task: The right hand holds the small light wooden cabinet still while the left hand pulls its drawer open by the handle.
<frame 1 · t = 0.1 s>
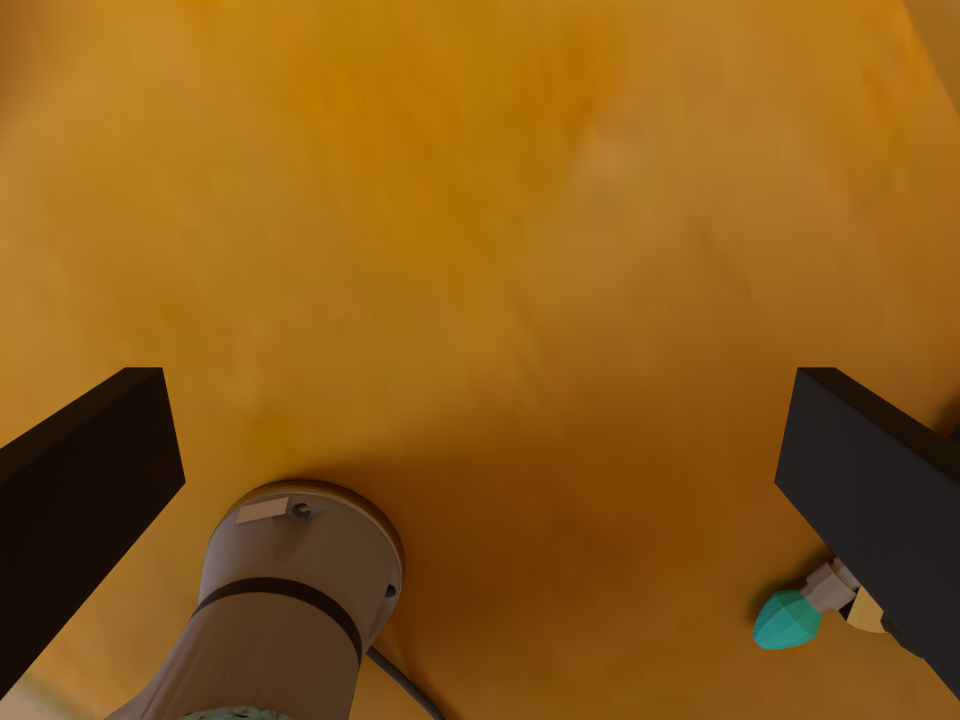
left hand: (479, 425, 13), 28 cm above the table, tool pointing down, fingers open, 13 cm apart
toy gun 2: (903, 533, 47), on the table
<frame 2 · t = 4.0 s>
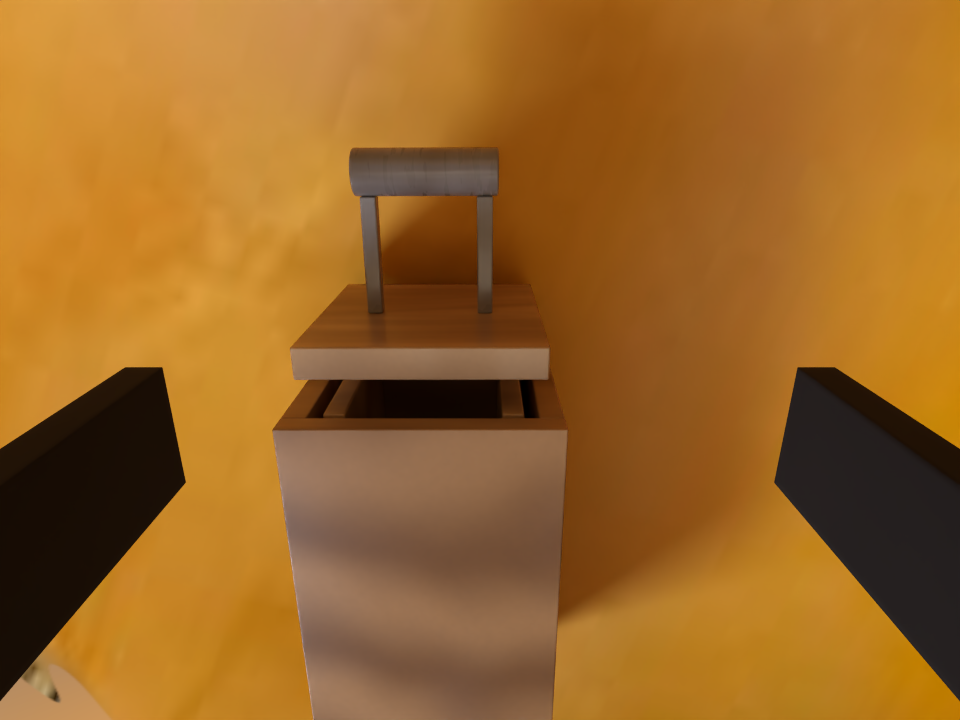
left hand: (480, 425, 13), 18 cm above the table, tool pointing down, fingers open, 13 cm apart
drawer: (435, 449, 27), point 6 cm above the table, slide at 1.4 cm
cabinet: (446, 499, 34), on the table
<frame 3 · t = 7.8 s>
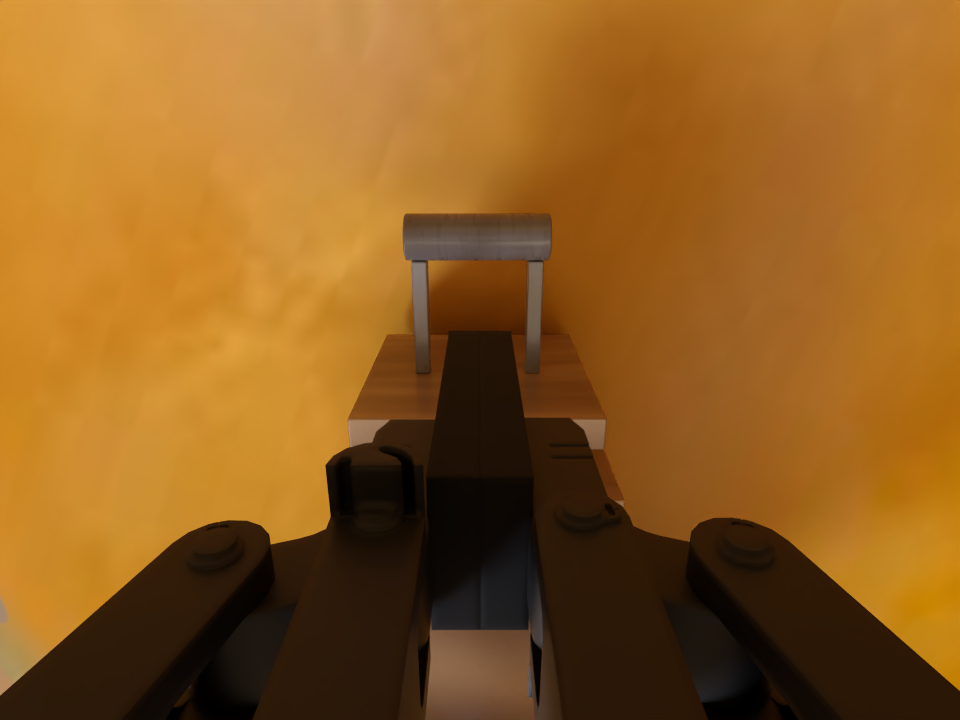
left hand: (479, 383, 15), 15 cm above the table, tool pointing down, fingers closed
drawer: (477, 503, 27), point 6 cm above the table, slide at 1.4 cm
cabinet: (478, 540, 34), on the table, touching right hand
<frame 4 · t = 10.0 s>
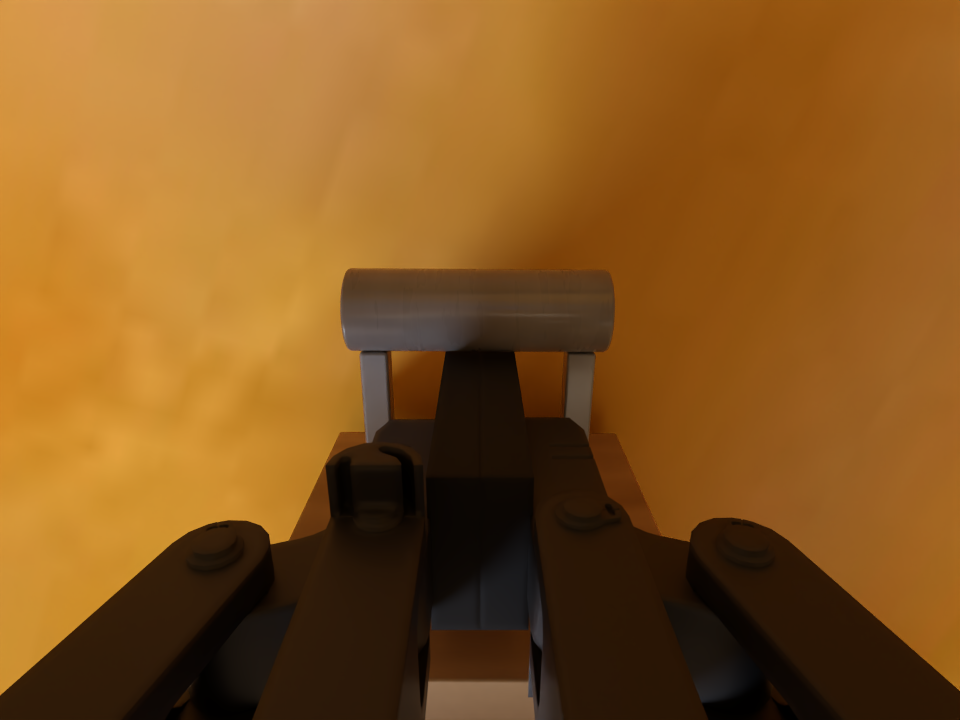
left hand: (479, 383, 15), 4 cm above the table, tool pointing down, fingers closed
drawer: (476, 710, 17), point 6 cm above the table, slide at 1.7 cm, touching left hand
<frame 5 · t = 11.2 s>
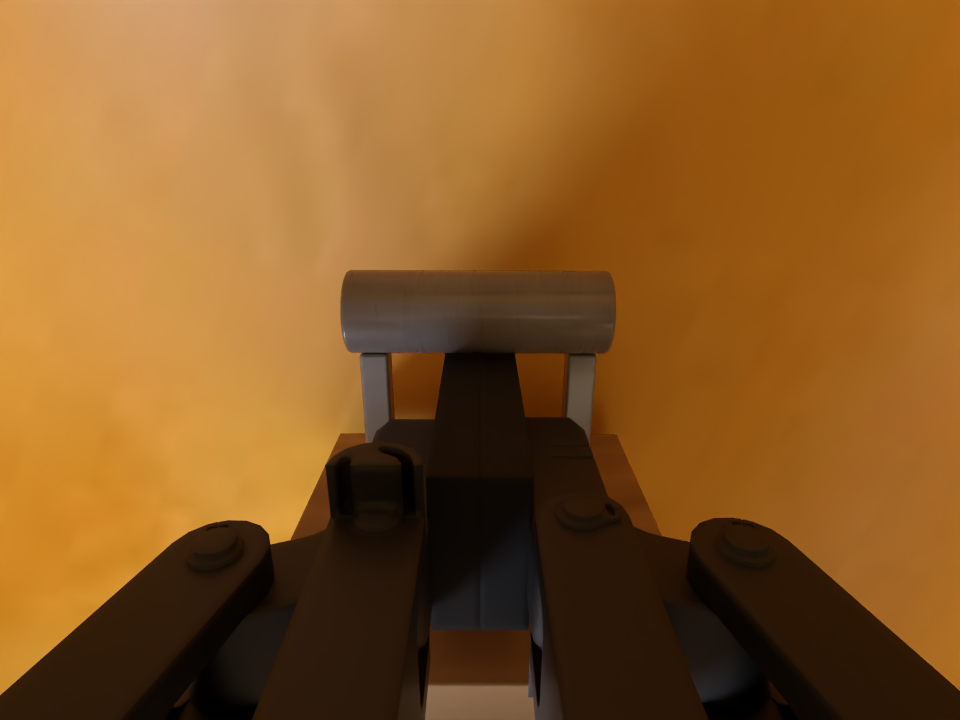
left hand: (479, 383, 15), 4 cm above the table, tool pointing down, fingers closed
drawer: (477, 712, 17), point 6 cm above the table, slide at 8.5 cm, touching left hand
when the right hand's fingers open (6 cm above the table, at t = 12.8 s): cabinet stays where it is, on the table.
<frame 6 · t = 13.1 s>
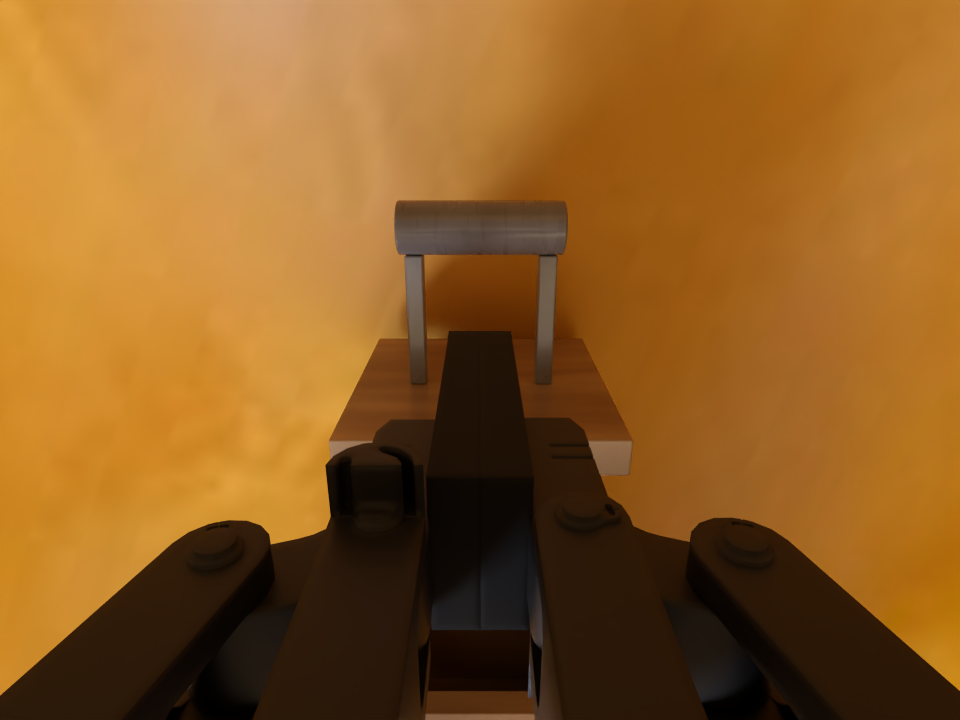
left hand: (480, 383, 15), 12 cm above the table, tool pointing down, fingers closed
drawer: (480, 528, 24), point 6 cm above the table, slide at 8.5 cm
cabinet: (480, 666, 34), on the table
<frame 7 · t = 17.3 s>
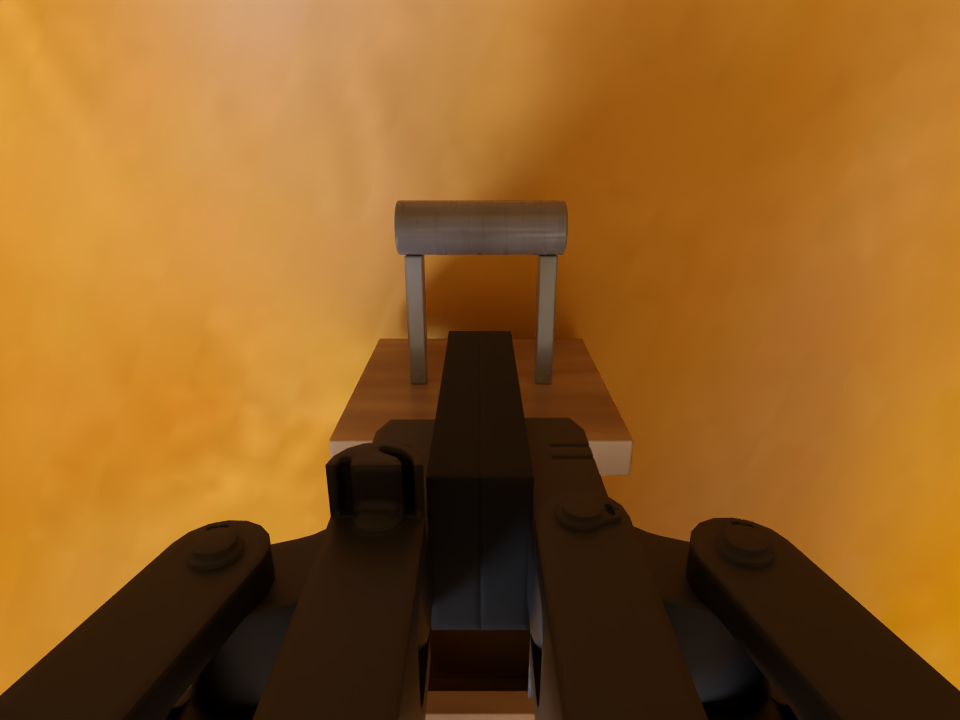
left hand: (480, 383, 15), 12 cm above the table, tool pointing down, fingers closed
drawer: (480, 528, 24), point 6 cm above the table, slide at 8.5 cm
cabinet: (480, 666, 34), on the table
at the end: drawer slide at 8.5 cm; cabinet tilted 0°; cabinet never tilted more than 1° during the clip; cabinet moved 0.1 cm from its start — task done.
